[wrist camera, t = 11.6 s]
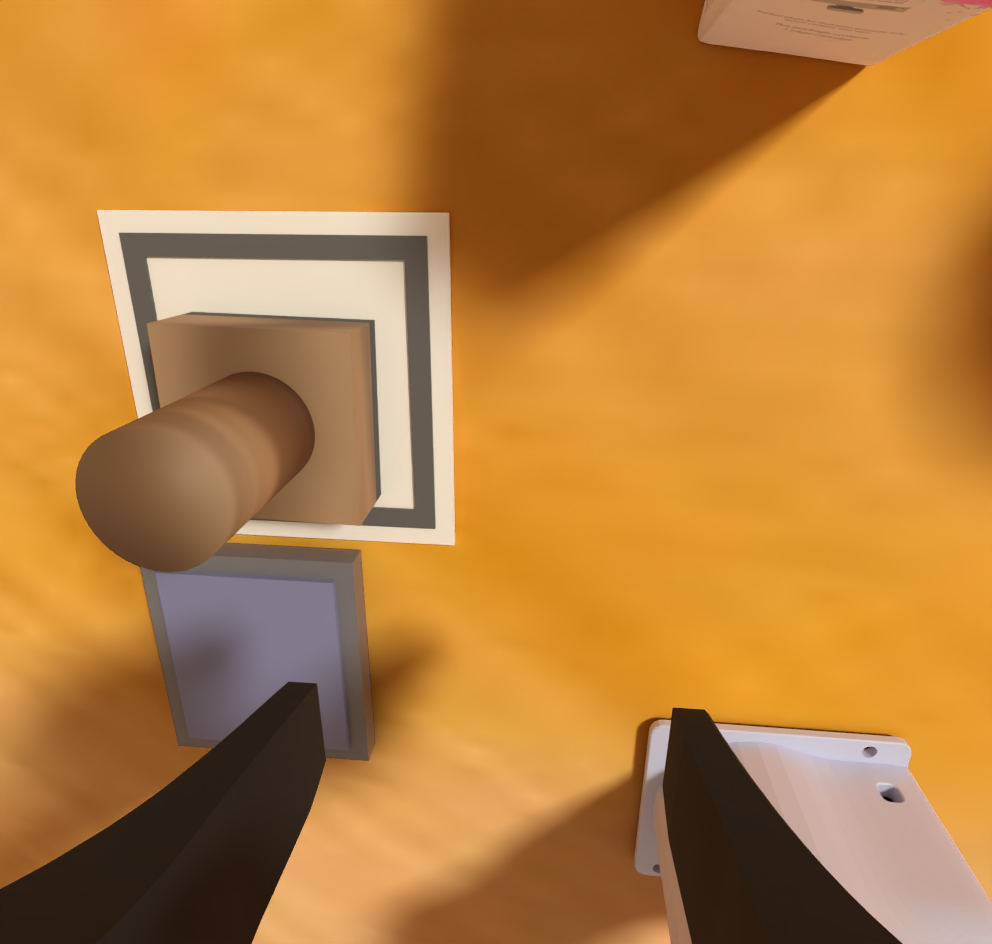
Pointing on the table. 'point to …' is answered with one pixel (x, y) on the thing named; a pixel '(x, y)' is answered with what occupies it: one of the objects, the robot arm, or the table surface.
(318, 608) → the ink pad
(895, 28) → the ink cartridge box
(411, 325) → the print sheet
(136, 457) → the stamp
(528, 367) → the table surface
